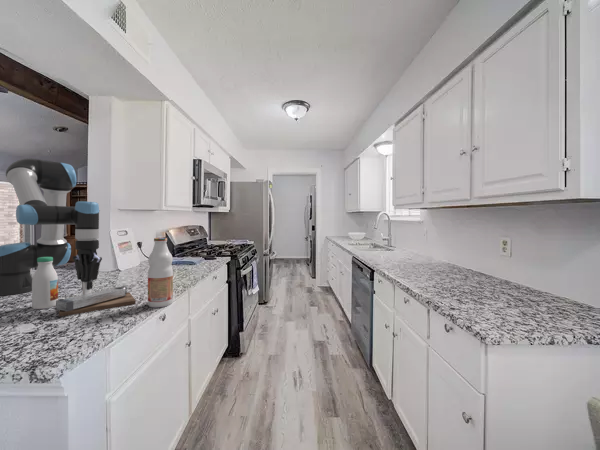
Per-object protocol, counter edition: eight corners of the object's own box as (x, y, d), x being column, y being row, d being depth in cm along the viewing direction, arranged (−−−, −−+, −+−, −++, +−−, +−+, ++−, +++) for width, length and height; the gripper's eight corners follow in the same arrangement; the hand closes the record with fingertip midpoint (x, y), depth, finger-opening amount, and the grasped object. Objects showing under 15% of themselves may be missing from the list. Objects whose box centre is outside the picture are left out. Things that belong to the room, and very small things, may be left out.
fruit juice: (157, 309, 107) (157, 239, 106) (142, 305, 111) (142, 238, 110) (177, 303, 115) (178, 237, 115) (163, 299, 119) (163, 237, 119)
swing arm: (120, 292, 122) (120, 285, 122) (130, 294, 120) (130, 287, 120) (56, 309, 100) (56, 300, 100) (67, 311, 97) (67, 302, 97)
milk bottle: (42, 310, 104) (41, 259, 104) (26, 309, 106) (26, 258, 105) (63, 304, 112) (63, 256, 111) (48, 303, 113) (48, 255, 113)
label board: (60, 305, 110) (60, 301, 110) (129, 295, 125) (129, 291, 125) (59, 316, 98) (59, 311, 98) (135, 304, 113) (135, 299, 113)
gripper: (108, 239, 111) (108, 296, 112) (85, 238, 115) (85, 293, 115) (89, 240, 104) (89, 301, 105) (65, 239, 108) (65, 298, 108)
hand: (87, 297), depth 110 cm, fingers closed
